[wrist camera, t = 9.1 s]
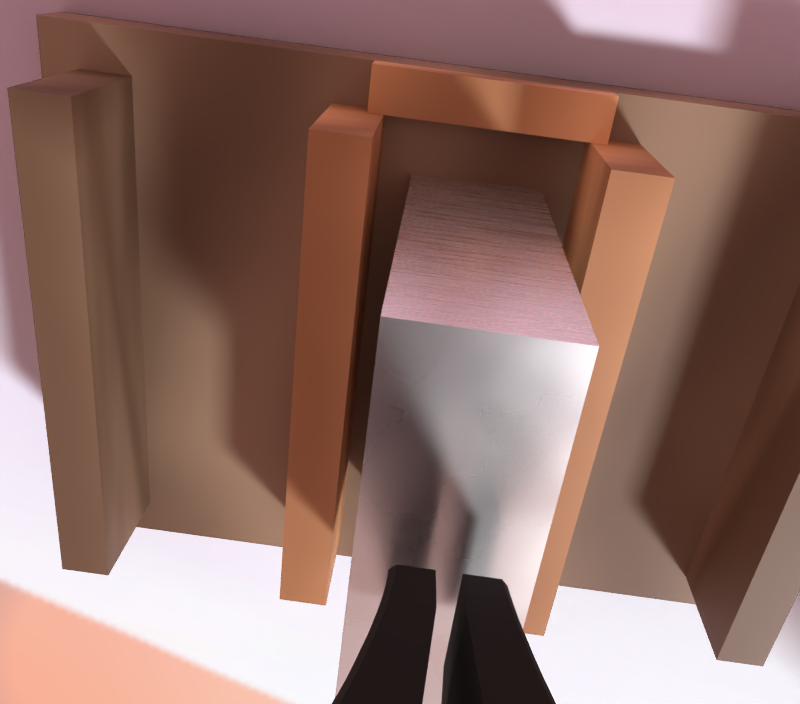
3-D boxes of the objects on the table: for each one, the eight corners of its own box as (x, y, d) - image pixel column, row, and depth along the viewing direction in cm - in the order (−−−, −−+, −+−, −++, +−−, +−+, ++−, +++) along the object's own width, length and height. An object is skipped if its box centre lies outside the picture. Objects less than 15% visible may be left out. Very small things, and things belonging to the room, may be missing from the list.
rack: (924, 127, 17) (1052, 172, 14) (731, 582, 24) (781, 696, 20) (61, 12, 18) (-46, 24, 14) (100, 494, 24) (34, 592, 20)
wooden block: (476, 500, 22) (486, 765, 14) (371, 486, 22) (330, 743, 14) (541, 190, 17) (598, 346, 10) (411, 173, 17) (380, 315, 10)
